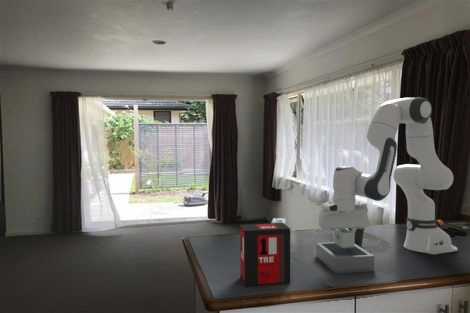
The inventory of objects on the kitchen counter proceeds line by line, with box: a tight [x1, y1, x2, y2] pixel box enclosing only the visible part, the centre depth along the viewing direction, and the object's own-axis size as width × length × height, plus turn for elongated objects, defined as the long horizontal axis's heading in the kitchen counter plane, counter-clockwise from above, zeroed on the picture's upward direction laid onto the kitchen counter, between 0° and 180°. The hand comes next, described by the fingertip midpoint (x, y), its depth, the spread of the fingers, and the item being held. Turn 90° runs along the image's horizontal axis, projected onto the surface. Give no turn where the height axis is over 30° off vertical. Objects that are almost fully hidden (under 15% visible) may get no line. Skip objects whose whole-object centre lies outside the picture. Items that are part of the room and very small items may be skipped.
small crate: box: [332, 228, 355, 248], centre depth 148 cm, size 5×9×6 cm, turn 8°
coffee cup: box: [347, 227, 366, 248], centre depth 171 cm, size 8×8×10 cm
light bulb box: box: [270, 217, 287, 226], centre depth 180 cm, size 11×7×11 cm, turn 168°
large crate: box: [315, 241, 375, 274], centre depth 148 cm, size 16×20×6 cm
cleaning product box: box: [239, 222, 291, 288], centre depth 131 cm, size 16×9×20 cm, turn 99°
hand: (343, 238), depth 148 cm, fingers closed on small crate, 5 cm apart
